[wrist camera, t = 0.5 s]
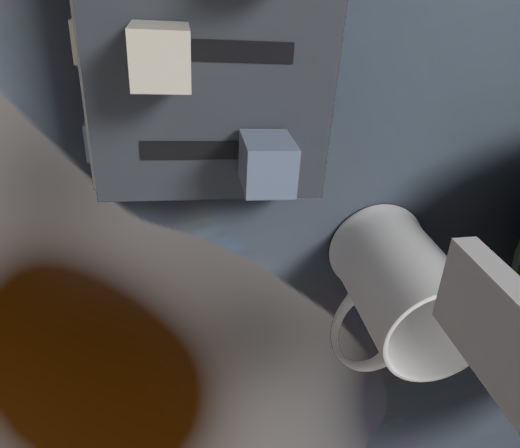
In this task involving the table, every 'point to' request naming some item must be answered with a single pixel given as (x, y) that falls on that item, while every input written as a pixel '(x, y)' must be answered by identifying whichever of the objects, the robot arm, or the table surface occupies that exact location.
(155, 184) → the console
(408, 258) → the mug
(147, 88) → the slider ivory
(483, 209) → the table surface
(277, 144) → the block
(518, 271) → the decorative globe
